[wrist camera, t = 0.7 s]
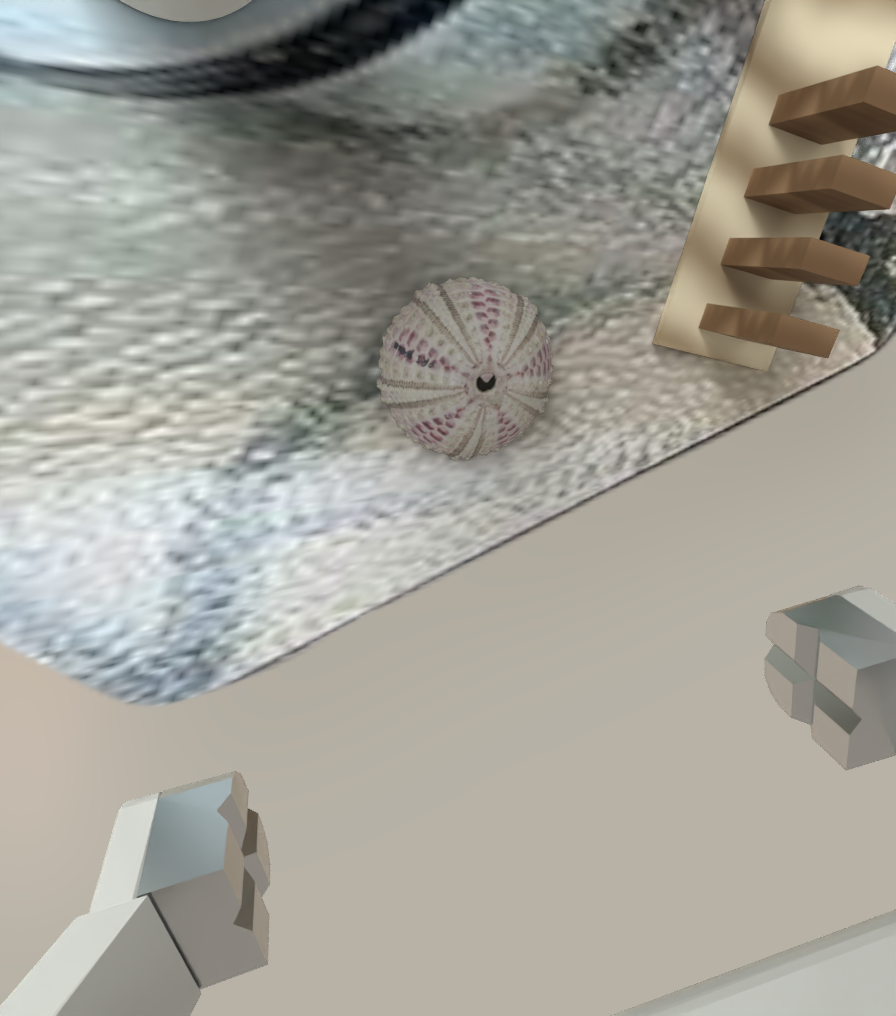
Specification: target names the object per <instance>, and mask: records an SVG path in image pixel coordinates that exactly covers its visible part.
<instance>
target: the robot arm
mask: <svg viewBox="0 0 896 1016" xmlns="http://www.w3.org/2000/svg"><path fill="white" fill-rule="evenodd" d="M120 1H122V2H123V3H125V4H127V5H129V6H131V7H133V8H135V9H137V10H139V11H141V12H144V13H146V14H149V15H152V16H155V17H159V18H163V19H167V20H173V21H181V22H199V21H207V20H212V19H216V18H220V17H223V16H226V15H228V14H231V13H233V12H235V11H237V10H239V9H240V8H242V7H243V6H245V5H247V4H248V3H249V2H250V1H252V0H120ZM766 636H767V638H768V639H769V640H771V642H772V643H773V644H774V645H773V647H772V648H771V650H770V652H769V653H768V655H767V656H766V658H765V678H766V681H767V683H768V686H769V689H770V692H771V694H772V696H773V697H774V699H775V700H776V702H777V703H778V705H779V706H780V707H781V708H782V709H783V710H784V711H785V712H786V713H787V714H788V715H789V716H790V717H791V718H794V719H797V720H799V721H802V722H805V723H807V724H810V725H811V732H812V738H813V739H814V740H815V741H816V742H817V743H818V744H819V745H820V746H821V747H822V748H823V749H824V750H825V751H826V752H827V753H828V754H829V755H830V756H831V757H832V758H834V759H835V760H836V761H837V762H838V763H839V764H840V765H841V766H842V767H843V768H844V769H845V770H849V769H852V768H855V767H859V766H862V765H865V764H869V763H872V762H875V761H879V760H882V759H885V758H889V757H892V756H895V755H896V603H894V602H893V601H891V600H889V599H887V598H886V597H884V596H883V595H881V594H880V593H878V592H876V591H875V590H873V589H871V588H868V587H864V586H856V587H853V588H849V589H847V590H843V591H840V592H837V593H834V594H831V595H829V596H827V597H823V598H819V599H816V600H813V601H810V602H806V603H803V604H800V605H796V606H793V607H790V608H786V609H783V610H780V611H777V612H773V613H771V614H770V616H769V618H768V620H767V622H766ZM248 792H249V790H248V788H247V786H246V784H245V781H244V780H243V777H242V775H241V773H238V772H236V771H235V772H231V773H228V774H224V775H220V776H217V777H213V778H209V779H206V780H202V781H198V782H194V783H190V784H187V785H183V786H179V787H176V788H172V789H168V790H165V791H163V792H161V793H157V794H153V795H149V796H146V797H142V798H138V799H134V800H130V801H127V802H125V804H124V805H123V806H122V808H120V810H119V812H118V814H117V818H116V821H115V824H114V828H113V832H112V835H111V838H110V842H109V845H108V849H107V852H106V855H105V859H104V862H103V866H102V869H101V872H100V876H99V879H98V883H97V887H96V890H95V893H94V897H93V900H92V903H91V907H90V910H89V914H86V915H83V916H80V917H77V918H76V919H75V920H74V921H73V922H72V923H71V924H70V925H69V927H68V928H67V929H66V930H65V931H64V932H63V934H62V935H61V936H60V937H59V938H58V939H57V941H56V942H55V943H54V944H53V945H52V946H51V948H50V949H49V950H48V951H47V952H46V953H45V955H44V956H43V957H42V958H41V959H40V960H39V962H38V963H37V964H36V965H35V966H34V968H32V970H31V971H30V972H29V973H28V974H27V975H26V977H25V978H24V979H23V980H22V981H21V982H20V984H19V985H18V986H17V987H16V988H15V989H14V991H13V992H12V993H11V994H10V995H9V997H8V998H7V999H6V1000H5V1001H4V1002H3V1003H2V1004H1V1006H0V1016H190V1014H191V1012H192V1011H193V1009H194V1007H195V1005H196V1003H197V1001H198V999H199V997H200V995H201V992H200V989H203V988H205V987H208V986H211V985H214V984H216V983H219V982H222V981H225V980H227V979H230V978H232V977H235V976H238V975H241V974H244V973H246V972H249V971H252V970H254V969H257V968H260V967H263V966H265V965H267V964H268V940H269V913H268V911H267V909H266V906H265V904H264V902H263V899H262V896H263V894H264V893H265V891H266V890H267V888H268V886H269V885H270V860H269V852H268V843H267V839H266V836H265V831H264V828H263V825H262V822H261V820H260V817H259V815H258V813H256V812H254V811H252V810H250V809H248ZM612 1016H896V910H893V911H891V912H888V913H885V914H883V915H880V916H877V917H874V918H872V919H869V920H867V921H864V922H861V923H858V924H856V925H853V926H850V927H848V928H845V929H842V930H840V931H837V932H834V933H832V934H829V935H826V936H824V937H821V938H818V939H815V940H813V941H811V942H807V943H805V944H802V945H799V946H797V947H794V948H791V949H789V950H786V951H783V952H781V953H778V954H775V955H772V956H770V957H767V958H764V959H762V960H759V961H756V962H754V963H751V964H748V965H746V966H743V967H741V968H738V969H735V970H732V971H730V972H727V973H725V974H722V975H719V976H716V977H713V978H711V979H708V980H706V981H703V982H700V983H697V984H695V985H692V986H689V987H687V988H684V989H681V990H679V991H676V992H673V993H671V994H668V995H665V996H663V997H660V998H657V999H654V1000H652V1001H649V1002H647V1003H644V1004H641V1005H638V1006H636V1007H633V1008H630V1009H628V1010H625V1011H623V1012H620V1013H617V1014H614V1015H612Z"/></svg>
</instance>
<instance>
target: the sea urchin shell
mask: <svg viewBox="0 0 896 1016" xmlns="http://www.w3.org/2000/svg"><path fill="white" fill-rule="evenodd" d="M382 339H383V346H382V347H381V349H380V350H379V353H380V360H379V361H378V363H379V368H380V369H381V375H380V376H379V378H378V380H377V382H376V383H377V387H378V388H379V389H380V390H381V398H380V400H382V401H383V402H385V403H386V404H387V405H388V406H389V407H390V410H391V416H393V418H394V419H396V421H397V425H398V427H400V428H401V429H403V430H405V432H406V435H407V437H412V438H413V441H414V442H420V443H421V444H422V445H423V448H427V449H429V448H431V449H432V450H433V451H436V452H438V453H445V454H447V455H448V456H449V457H450V459H451V460H452V459H454V460H458V459H463V460H465V461H467V460H468V459H469V458H471V457H472V456H474V455H477V454H478V455H487V454H488V453H489V452H490V451H493V452H495V451H498V450H499V448H500V447H504V446H506V445H507V444H508V443H509V442H512V441H513V440H514V439H515V438H516V437H521V436H523V431H524V430H525V429H526V428H528V427H530V426H531V423H532V420H533V419H534V418H535V417H536V416H537V415H538V414H540V413H542V412H545V410H544V405H545V404H546V403H547V402H548V401H549V397H548V393H547V392H548V386H549V385H550V384H551V383H552V378H551V373H552V371H553V366H552V364H551V359H552V355H551V353H550V350H551V346H550V345H549V343H550V338H549V336H548V335H547V333H546V327H545V325H544V324H543V323H541V322H540V321H539V319H538V308H537V306H536V305H533V304H531V303H530V302H529V300H528V297H526V296H525V294H524V295H519V294H515V293H512V292H511V290H510V289H509V288H506V287H505V286H500V285H499V284H498V283H497V282H495V281H490V282H487V281H485V280H483V279H482V278H481V279H477V278H476V277H471V278H469V279H466V278H463V277H460V278H457V279H455V280H452V279H449V280H447V281H446V282H444V283H442V284H436V283H431V282H429V283H428V284H427V285H426V287H425V288H424V289H423V290H416V291H415V294H414V296H413V298H412V300H411V302H410V303H409V304H408V306H403V307H402V309H401V311H400V313H399V314H398V315H396V316H393V320H392V325H391V326H390V327H388V328H387V334H386V335H385V336H384V337H382Z"/></svg>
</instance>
